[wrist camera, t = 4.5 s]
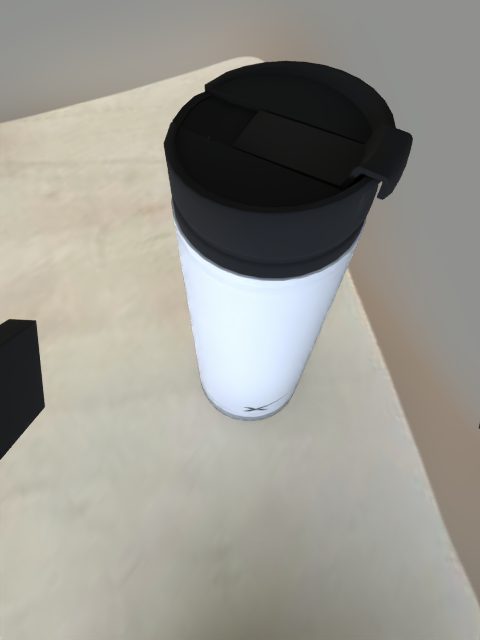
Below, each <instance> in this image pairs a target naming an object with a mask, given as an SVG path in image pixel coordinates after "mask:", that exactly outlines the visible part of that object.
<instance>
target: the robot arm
mask: <svg viewBox="0 0 480 640" xmlns="http://www.w3.org/2000/svg"><path fill="white" fill-rule="evenodd" d="M44 407H45V403H44V394H43V384H42V374H41V364H40V354H39V344H38V335H37V325H36V320H15V319H9V320H7V321H5V322H4V323H2V324H1V325H0V460H1V458H2V457H3V456H4V455H5V454H6V452H7V451H8V450H9V449H10V448H11V447H12V445H13V444H14V443H15V442H16V441H17V439H18V438H19V437H20V436H21V435H22V434H23V432H24V431H25V430H26V429H27V428H28V426H29V425H30V424H31V423H32V422H33V420H34V419H35V418H36V417H37V416H38V415H39V413H40V412H41V411H42V410H43V409H44ZM479 429H480V425H479Z"/></svg>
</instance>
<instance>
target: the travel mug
mask: <svg viewBox="0 0 480 640" xmlns="http://www.w3.org/2000/svg"><path fill="white" fill-rule="evenodd" d="M412 141H413V138H412V135H411V134H410V133H408V132H405V131H402V130H400V129H397V128H396V126H395V122H394V118H393V114H392V112H391V110H390V109H389V107H388V105H387V103H386V102H385V100H384V99H383V98H382V97H381V96H380V95H379V94H378V93H377V92H376V91H375V90H374V88H372V87H371V86H369V85H368V84H366V83H365V82H364V81H362V80H361V79H359V78H357V77H355V76H353V75H351V74H349V73H347V72H344V71H342V70H339V69H335V68H332V67H329V66H326V65H321V64H315V63H309V62H296V61H277V62H264V63H259V64H254V65H248V66H244V67H241V68H238V69H234V70H231V71H228V72H226V73H224V74H222V75H221V76H219V77H217V78H216V79H214V80H212V81H211V82H209V83H207V84H205V92H203V93H201V94H198V95H196V96H194V97H193V98H192V99H191V100H190V101H189V102H187V103H186V104H185V105H184V106H183V107H182V108H181V110H180V111H179V112H178V114H177V115H176V117H175V118H174V119H173V122H171V124H170V127H169V129H168V132H167V135H166V138H165V141H164V149H165V156H166V162H167V167H168V174H169V180H170V187H171V193H172V201H171V203H172V210H173V217H174V223H175V228H176V235H177V241H178V247H179V253H180V259H181V265H182V271H183V277H184V283H185V289H186V295H187V301H188V307H189V313H190V319H191V325H192V331H193V337H194V343H195V349H196V355H197V361H198V367H199V373H200V379H201V385H202V388H203V390H204V393H205V395H206V397H207V398H208V400H209V401H210V403H211V404H212V405H213V406H214V407H215V408H216V409H217V410H219V411H220V412H222V413H223V414H225V415H227V416H229V417H232V418H234V419H238V420H243V421H255V420H261V419H265V418H267V417H270V416H272V415H274V414H275V413H277V412H279V411H280V410H281V409H282V408H283V407H284V406H285V405H286V404H287V403H288V402H289V400H290V399H291V397H292V395H293V393H294V391H295V388H296V386H297V384H298V381H299V379H300V377H301V374H302V372H303V370H304V367H305V365H306V363H307V360H308V358H309V356H310V353H311V351H312V349H313V346H314V344H315V342H316V339H317V337H318V335H319V332H320V330H321V328H322V325H323V323H324V321H325V318H326V316H327V313H328V311H329V309H330V306H331V304H332V302H333V299H334V297H335V295H336V292H337V290H338V288H339V285H340V283H341V281H342V278H343V276H344V274H345V271H346V269H347V267H348V264H349V262H350V260H351V257H352V255H353V253H354V250H355V247H356V245H357V243H358V241H359V239H360V236H361V233H362V231H363V228H364V226H365V223H366V216H367V214H368V212H369V210H370V208H371V205H372V202H373V200H374V197H375V195H376V192H377V188H378V184H379V183H380V182H381V181H382V182H383V183H382V186H381V188H380V191H379V193H378V196H377V198H379V199H382V200H383V199H385V198H386V197H387V196H388V195H390V194H391V193H392V192H393V190H394V188H395V187H396V185H397V183H398V182H399V180H400V178H401V176H402V173H403V171H404V169H405V167H406V164H407V160H408V157H409V153H410V150H411V145H412Z"/></svg>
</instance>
